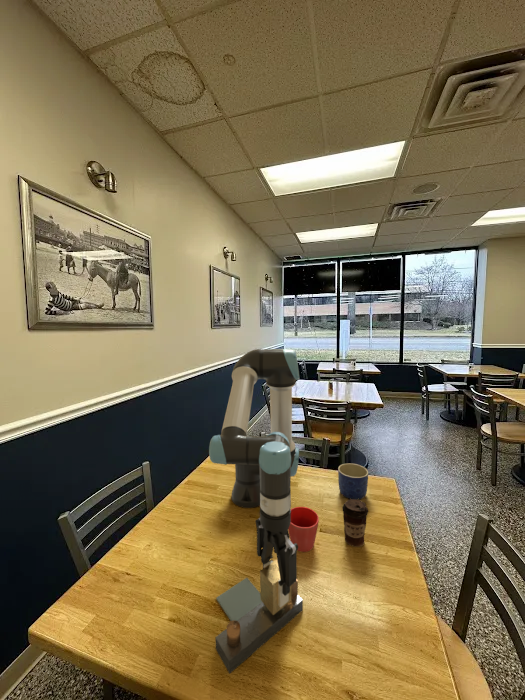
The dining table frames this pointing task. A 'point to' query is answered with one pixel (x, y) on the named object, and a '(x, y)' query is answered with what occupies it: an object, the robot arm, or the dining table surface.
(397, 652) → the dining table surface
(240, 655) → the plane body
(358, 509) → the coffee cup
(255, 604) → the mat
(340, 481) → the planter
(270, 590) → the tan wooden block
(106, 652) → the dining table surface
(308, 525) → the flower pot
